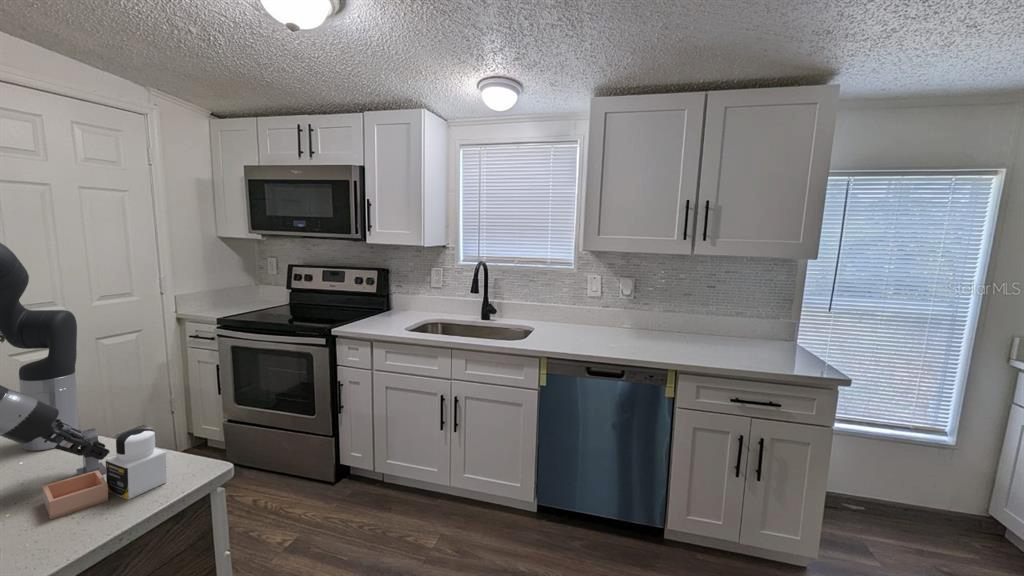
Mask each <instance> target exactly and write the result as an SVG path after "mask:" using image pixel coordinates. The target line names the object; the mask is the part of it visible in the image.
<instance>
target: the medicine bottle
mask: <svg viewBox="0 0 1024 576" xmlns="http://www.w3.org/2000/svg"><path fill="white" fill-rule="evenodd" d="M115 447H116V451H115V454H116V455H113V456H110V457H107V458H106V459H105V468H106V473H105V474H106V479H105V481H106V482H107V484H108V493H111V494H113V495H116V496H117V497H121V498H123V499H125V500H127V501H129V500H131V499H133V498H135V497H137V496H140V495H142V494H144V493H146V492H149V491H151V490H154V489H155V488H157V487H159V486H160V487H161V486H162V485H164V484H165V483H167V480H168V477H167V474H168V473H167V451H164V450H162V449H159V448H156V433H155V431H154V430H153V429H150V428H137V429H131V430H127V431H125V432H123V433H121V434H120V435H119V436H117V437H116V438H115Z"/></svg>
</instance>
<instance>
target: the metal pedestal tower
mask: <svg viewBox="0 0 1024 576" xmlns="http://www.w3.org/2000/svg"><path fill="white" fill-rule="evenodd" d="M80 431H81V434H82V435H83V438H84V439H86V440H88V441H92V442H93V443H94V444H96V445H99V442H100V441H99V436H100V435H99V431H98V430H97V429H96V427H93V428H89V429H84V430H80ZM82 446H83V445H82ZM82 466H83V467H80V468H76V476H79V475H83V474H86V473H89V472H93V471H96V470H99V472H100V473H101V475H103V474H106V465H104V463H103V462H100V460H99V459H96V458H94V457H91V456H89V455H86V454H83V455H82Z"/></svg>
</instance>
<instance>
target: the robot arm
mask: <svg viewBox="0 0 1024 576" xmlns="http://www.w3.org/2000/svg"><path fill="white" fill-rule="evenodd" d="M29 279H30V275H29V273H28V270H27V268H26V267H25V266H24V265H23V263H22V262H21V261H20V259H19V258H18V257H17V255H16V254H15V253H14V252H13V251H12V250H11V249H10V248H9V247H8V246H6V245H5V244H3V243H1V242H0V335H2V336H3V338H4V339H5V341H6V342H8V344H10V345H11V346H13V347H14V348H18V349H23V350H30V349H31V350H34V349H35V350H37V349H48V354H47V356H45V357H44V358H42V359H38V360H35V361H32V362H28V363H26V364H25V363H24V364H23V365H21V367H20V368H19V369H18V379H19V391H16V390H13V389H10V388H7V387H5V386H3V385H1V384H0V437H2V438H5V439H8V440H10V441H13V442H16V443H18V444H21V445H23V449H24V450H25V451H29V452H30V451H34V452H35V451H44V450H51V449H54V448H55V450H58V451H62V452H67V453H69V454H72V455H76V456H79V457H83V454H86V455H89V456H91V457H94V458H96V459H99V461H102V460H104V458H105V457H107V456H108V454H110V453H111V452H110V450H109V449H108V448H106V444H105V443H102V442H101V441H99V445H96V444H94V443H93V442H92V441H88V440H86V439H84V438H83V435H82V434H81V431H82V430H80V429H79V417H78V398H77V397H78V395H77V394H78V393H77V382H76V381H77V379H76V363H77V358H78V357H77V352H78V351H77V341H78V340H77V339H78V324H77V320H76V319H77V318H76V317H75V315H74V314H73V312H72V311H69V310H66V309H65V310H64V309H50V310H49V309H38V310H36V309H34V310H32V309H28V308H26V307H24V305H22V303H21V302H20V299H21V297H22V296H23V294H24V293H25V291H26V289H27V287H28V285H29ZM82 445H83V446H82Z"/></svg>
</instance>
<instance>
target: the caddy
mask: <svg viewBox="0 0 1024 576" xmlns="http://www.w3.org/2000/svg"><path fill="white" fill-rule="evenodd" d="M42 499H43V506H44V508H45V510H46V513H47V515H48V517H49V520H51V521H52V520H55V519H57V518H60V517H63V516H66V515H68V514H72V513H75V512H78V511H81V510H84V509H87V508H90V507H92V506H95V505H98V504H101V503H102V504H103V503H105V502H108V501H109V492H108V484H107V480H106V479H105V478H104V477H103V474H101V473H100V472H99V470H96V471H93V472H89V473H86V474H83V475H79V476H78V475H76V476H73V477H69V478H65V479H62V480H59V481H58V480H57V481H55V482H52V483H48V484H46V485H42Z"/></svg>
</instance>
